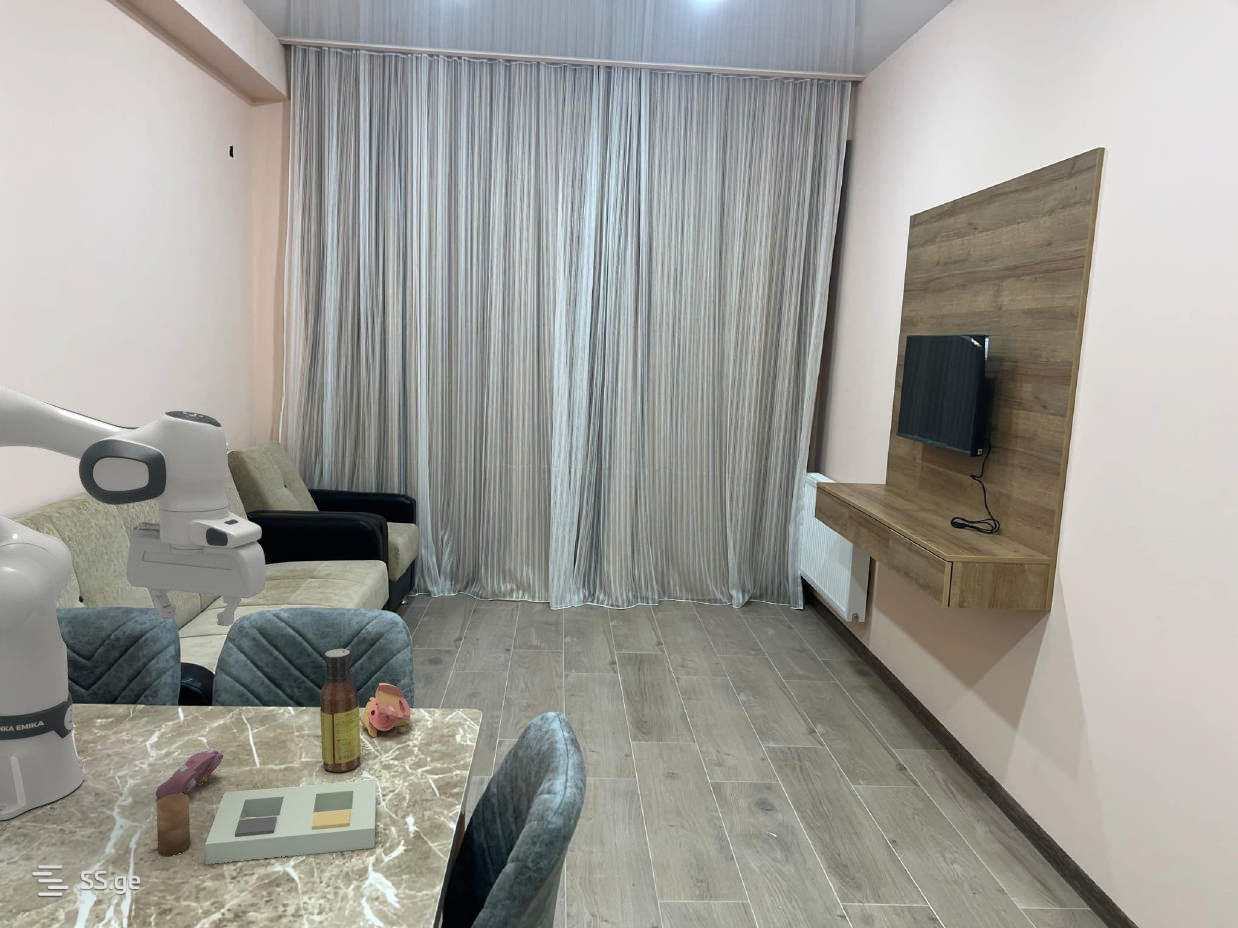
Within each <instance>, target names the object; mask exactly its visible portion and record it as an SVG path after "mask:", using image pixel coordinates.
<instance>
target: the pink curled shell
mask: <svg viewBox="0 0 1238 928" xmlns="http://www.w3.org/2000/svg"><path fill="white" fill-rule="evenodd" d="M369 700H370V701H368V702H367V703H366V705H365V709H364V710H363V711H362V712H361V714H360V723H361V725H362V727H364V729H366V730H368V734H369V735H370V736H371V737H374V738H377V735H378V734H377V733H378V731H377V730H379V731H382V732H386V731H390V730H392V729H393V727H401V726H405V725H410V724H411V723H410V722H411V721H410V720H411V708H410V705H409V703H408V701H407V700H406V699H405V698H404V694H403V692H402V690H401V689H400V688H398V687H397V686H395V685H393V684H390V683H387V682H386V683H385V682H379V683H378V687H377V688H376V691H375V697H371V696H370V697H369Z"/></svg>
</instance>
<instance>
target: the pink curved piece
mask: <svg viewBox="0 0 1238 928" xmlns="http://www.w3.org/2000/svg"><path fill="white" fill-rule="evenodd" d="M223 759H224V755H223V753H220V752H219V751H217V750H215V749H214V750H213V749H212V748H211V747H209V748H208V749H207V750H206V751H202V752H197V753H194V754H193V755H191V756H190V757H189V758H188V759H187V761H186V762H185V763H184V764H183V765H181V766H180V767H179V768H178V769H177V770H176V771H175V772H174V773H173V774H172V775H171V777H169V778H168V779H167V780H166V781H164V782H163V783H161V784H160V785H158V787H157V788H156V790H155V797H156V798H157V800H160V799H161V798H163V797H165V796H168V795H171V794H185V795H189V794H190V793H192V791H193V790H194V789H195V787H196V785H198V786H202V785H203V784H204V783H206V782H207V781H208V780H209V777H210V776H211V774H212V773H213V772H214V771H215V770H216V769H217V767H219V765H220V764H221V762H222V761H223ZM202 783H203V784H202ZM201 784H202V785H201ZM189 792H190V793H189ZM188 793H189V794H188Z"/></svg>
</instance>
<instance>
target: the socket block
mask: <svg viewBox="0 0 1238 928" xmlns="http://www.w3.org/2000/svg"><path fill="white" fill-rule="evenodd" d="M376 806H377V780H376V779H372V780H359V781H348V782H347V781H346V782H345V781H344V782H337V783H336V782H335V783H334V782H333V783H322V784H311V785H309V784H308V785H296V786H286V787H274V788H273V787H272V788H261V789H248V790H246V789H245V790H236V791H225V792H224V794H223V795H222V798H221V800H220V803H219V806H218V809H217V812H216V815H215V818H214V820H213V823H212V826H211V828H210V831H209V834H208V836H207V839H206V842H205V844H204V847H205V865H206V864H207V865H208V864H209V865H216V864H215V863H219V864H227V862H229V863H233V862H232V861H239V860H240V861H239V862H245V861H244V860H249V861H251V860H250V859H259V860H265V859H264V858H268V859H275V858H274V857H278V858H286V857H285V856H288V857H297V856H306V855H316V854H326V853H327V854H329V853H335V852H347V851H356V850H366V849H375V844H376V843H375V841H376V839H375V838H376V816H377V815H376V813H377V812H376V810H377V807H376ZM245 817H256V818H245ZM296 855H297V856H296ZM281 856H282V857H281ZM224 862H225V863H224ZM207 865H206V866H207Z"/></svg>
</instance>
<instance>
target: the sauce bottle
mask: <svg viewBox="0 0 1238 928" xmlns="http://www.w3.org/2000/svg"><path fill="white" fill-rule="evenodd" d="M351 656H352V655H351V651H350V650H349V649H346V648H337V649H336V648H335V649H331V650H328V651H326V652H325V653H324V662H325V663H326V676H325V678H326V680H325V682H324V684H323V686H322V687H321V690H320V697H319V698H320V699H319V700H320V709H319V711H320V713H319V715H320V736H321V741H320V743H321V759H322V761H323V763H322V765H323V768H324V769H325V770H326V771H329V772H333V773H344V772H348V771H351V770H355V768H357V767H358V766H359V765H360V762H361V753H362V751H361V750H362V749H361V747H362V746H361V745H362V744H361V728H360V727H361V724H360V723H361V718H360V700H359V696H358V693H357V691H356V689H355V686H354V685H355V684H354V683H353V680H352V677H351V672H350V671H351V666H350V664H351V663H350V661H351V658H352V657H351Z"/></svg>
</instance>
